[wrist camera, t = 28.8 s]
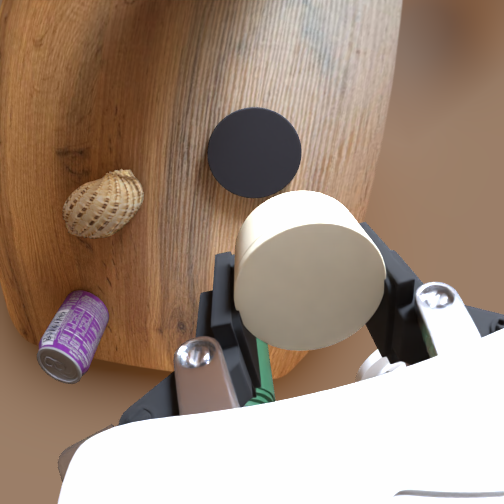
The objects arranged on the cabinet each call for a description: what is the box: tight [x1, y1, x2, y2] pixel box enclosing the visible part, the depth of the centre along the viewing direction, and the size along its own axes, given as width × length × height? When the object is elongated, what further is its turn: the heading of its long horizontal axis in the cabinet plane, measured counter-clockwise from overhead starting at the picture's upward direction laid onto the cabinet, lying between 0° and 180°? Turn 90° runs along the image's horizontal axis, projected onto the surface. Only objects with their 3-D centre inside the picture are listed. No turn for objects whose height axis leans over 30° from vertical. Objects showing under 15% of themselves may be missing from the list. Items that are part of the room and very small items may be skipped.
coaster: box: [207, 107, 301, 198], centre depth 33 cm, size 10×10×1 cm
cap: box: [234, 191, 386, 351], centre depth 9 cm, size 4×4×2 cm
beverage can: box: [37, 290, 109, 384], centre depth 37 cm, size 7×7×12 cm
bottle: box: [245, 337, 275, 407], centre depth 38 cm, size 7×7×18 cm
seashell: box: [63, 169, 144, 239], centre depth 33 cm, size 8×6×10 cm
